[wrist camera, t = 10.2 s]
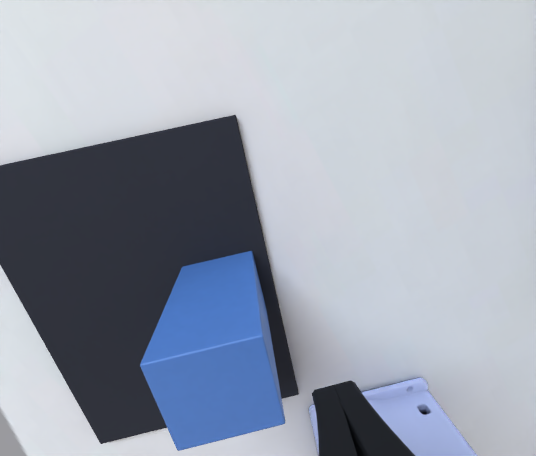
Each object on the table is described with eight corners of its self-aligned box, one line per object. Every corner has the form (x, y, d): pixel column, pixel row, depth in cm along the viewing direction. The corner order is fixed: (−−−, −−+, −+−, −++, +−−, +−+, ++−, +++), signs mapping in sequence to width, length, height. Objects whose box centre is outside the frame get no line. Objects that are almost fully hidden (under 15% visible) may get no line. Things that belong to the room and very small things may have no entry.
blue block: (251, 250, 18) (263, 335, 10) (266, 309, 19) (286, 424, 11) (181, 266, 17) (138, 365, 10) (201, 325, 19) (177, 452, 11)
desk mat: (235, 115, 16) (235, 114, 15) (297, 390, 22) (298, 394, 21) (-43, 175, 15) (-50, 176, 15) (103, 438, 21) (100, 444, 21)
